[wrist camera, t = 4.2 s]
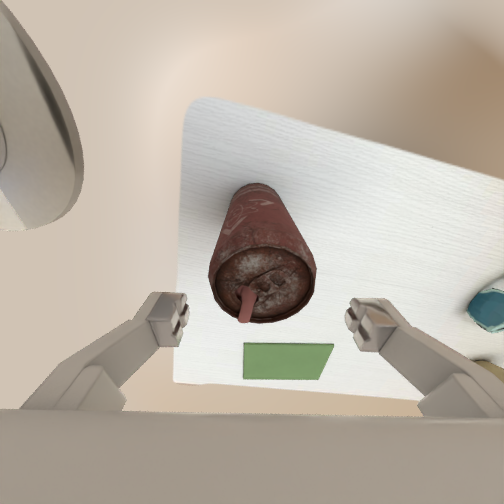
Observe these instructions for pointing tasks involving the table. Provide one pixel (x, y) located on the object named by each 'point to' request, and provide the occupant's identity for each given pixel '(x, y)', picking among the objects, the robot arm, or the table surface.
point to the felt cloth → (285, 360)
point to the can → (261, 259)
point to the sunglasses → (488, 310)
